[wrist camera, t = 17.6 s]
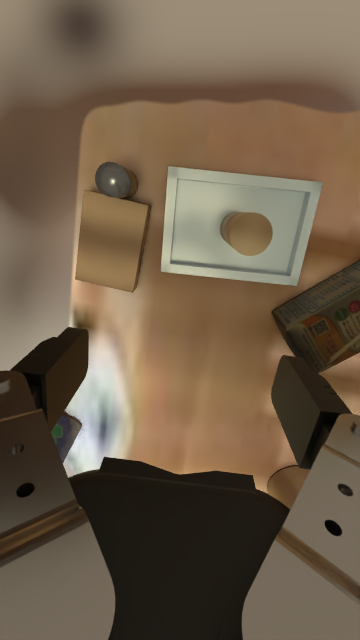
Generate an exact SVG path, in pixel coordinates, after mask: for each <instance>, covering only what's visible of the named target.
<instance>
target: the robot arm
mask: <svg viewBox="0 0 360 640" xmlns="http://www.w3.org/2000/svg"><path fill="white" fill-rule="evenodd" d="M88 341H89V335H88V330H87V329H79V328H71V327H68V328H66V329H65V330H64V331H63V332H62V333H61V334H60V335H59V336H58V337H52V338H50V339H47V340H45V341H43V342H41V343H40V344H39V345H38V346H36V347H35V349H34V350H32V351H31V352H30V353H29V354H28V355H27V356H25V357H24V358H23V359H22V360H21V361H20V362H19V363H18V364H16V365H15V366H14V367H13V368H12V369H11V370H10V371H0V640H360V416H358V415H355V414H352V413H351V411H350V410H349V409H348V407H347V406H346V405H345V404H344V402H343V401H342V400H341V398H340V397H339V396H338V395H337V393H336V392H335V391H334V390H333V388H331V386H330V384H329V383H328V382H327V381H326V379H325V378H323V377H322V376H321V375H319V374H318V373H317V372H315V371H312V370H311V368H310V367H309V366H308V364H307V363H306V362H305V360H304V359H303V358H301V357H293V356H286V355H283V356H282V357H281V359H280V361H279V365H278V368H277V372H276V376H275V379H274V383H273V386H272V391H271V399H272V403H273V406H274V408H275V410H276V413H277V415H278V418H279V420H280V422H281V425H282V427H283V430H284V432H285V434H286V437H287V439H288V442H289V444H290V447H291V449H292V451H293V454H294V456H295V459H296V461H297V463H298V466H294V467H288V468H285V469H282V470H280V471H278V472H277V473H275V474H274V475H273V476H272V477H271V479H270V480H269V482H268V494H267V493H265V492H263V491H260V490H258V489H256V488H255V483H254V479H253V475H245V474H237V473H229V472H221V471H210V472H201V473H192V474H182V475H179V474H174V473H171V472H169V471H166V470H163V469H160V468H157V467H155V466H152V465H149V464H146V463H143V462H141V461H133V460H125V459H117V458H109V457H104V458H103V461H102V464H101V467H100V469H98V470H91V471H87V472H83V473H80V474H77V475H74V476H72V477H69V478H68V476H67V474H66V471H65V468H64V466H63V463H62V460H61V458H60V455H59V452H58V450H57V447H56V444H55V442H54V439H53V436H52V434H51V431H52V430H53V428H54V426H55V425H56V423H57V422H58V420H59V418H60V417H61V415H62V414H63V412H64V410H65V409H66V407H67V406H68V404H69V402H70V401H71V399H72V398H73V396H74V394H75V393H76V391H77V390H78V388H79V386H80V385H81V383H82V382H83V380H84V378H85V376H86V373H87V369H88Z"/></svg>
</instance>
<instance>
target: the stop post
mask: <svg viewBox="0 0 360 640" xmlns="http://www.w3.org/2000/svg"><path fill="white" fill-rule="evenodd" d="M95 181H96V185H97V187H98V189H99V190H100V192H101V193H102V194H104V195H105V196H108V197H114V198H130V197H132V196H133V195H134V194H135V193H136V191H137V189H138V181H137V178H136V176H135V175H134V174H133V173H132V172H131V171H129V170H127V169H125V168H124V167H122V166H120V165H118V164H116V163H113V162H106V163H103V164H102V165H101V166H100V167H99V168H98V169H97V171H96V175H95Z"/></svg>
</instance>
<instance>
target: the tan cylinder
mask: <svg viewBox="0 0 360 640" xmlns="http://www.w3.org/2000/svg"><path fill="white" fill-rule="evenodd" d="M220 233H221V236H222V238H223V239H224V240H225V241H226V242H227V243H228V244H229V245H230V246H231V247H232V248H234V249H235V250H236V251H237V252H238V253H240V254H242V255H245V256H255V255H258V254H260V253H262V252H263V251H264V250H265V249H266V248H267V247H268V246H269V244H270V242H271V240H272V236H273V229H272V225H271V223H270V221H269V220H268V219H267V218H266V217H265V216H264V215H262V214H260V213H254V212H232V213H230V214H228V215H227V216H226V217H225V218H224V219H223V220H222V222H221V226H220Z"/></svg>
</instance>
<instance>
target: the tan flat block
mask: <svg viewBox="0 0 360 640" xmlns="http://www.w3.org/2000/svg"><path fill="white" fill-rule="evenodd" d="M150 210H151V205H147V204H143V203H139V202H135V201H130V200H126V199H122V198H114V197H108V196H105V195H104V194H102V193H98V192H94V191H89V190H84V194H83V204H82V215H81V225H80V235H79V246H78V256H77V266H76V277H75V279H76V280H80V281H85V282H89V283H93V284H98V285H102V286H106V287H110V288H115V289H119V290H123V291H128V292H132V293H133V292H134V290H135V289H136V287H137V283H138V277H139V272H140V266H141V261H142V255H143V249H144V244H145V238H146V233H147V227H148V222H149V216H150Z"/></svg>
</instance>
